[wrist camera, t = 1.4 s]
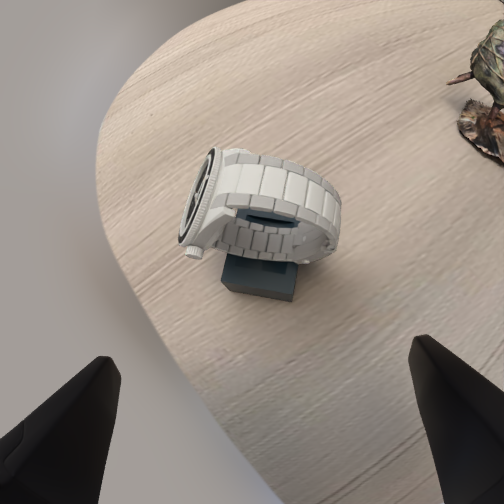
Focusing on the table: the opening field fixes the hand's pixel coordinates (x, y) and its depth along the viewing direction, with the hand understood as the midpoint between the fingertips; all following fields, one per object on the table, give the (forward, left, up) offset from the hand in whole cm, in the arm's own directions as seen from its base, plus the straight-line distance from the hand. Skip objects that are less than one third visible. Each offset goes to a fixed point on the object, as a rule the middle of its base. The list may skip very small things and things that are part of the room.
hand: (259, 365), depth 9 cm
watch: (+7, +2, -13) cm, 14 cm away
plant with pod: (+23, -18, -13) cm, 32 cm away
